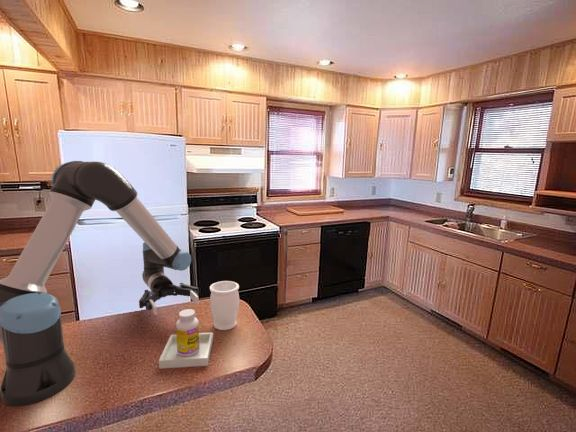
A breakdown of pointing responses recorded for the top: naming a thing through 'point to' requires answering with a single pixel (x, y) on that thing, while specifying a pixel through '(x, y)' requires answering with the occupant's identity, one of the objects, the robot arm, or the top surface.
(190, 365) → the tray
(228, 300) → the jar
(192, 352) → the supplement bottle
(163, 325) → the top surface
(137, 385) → the top surface
